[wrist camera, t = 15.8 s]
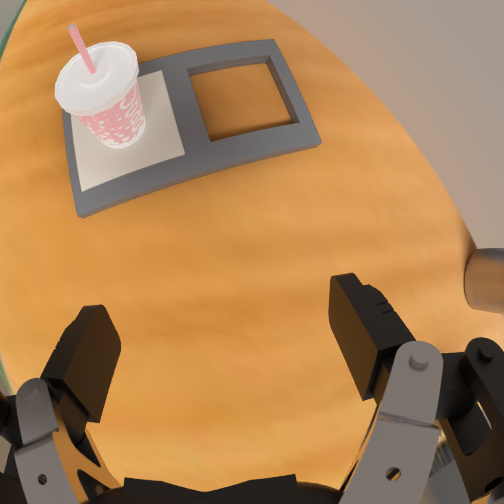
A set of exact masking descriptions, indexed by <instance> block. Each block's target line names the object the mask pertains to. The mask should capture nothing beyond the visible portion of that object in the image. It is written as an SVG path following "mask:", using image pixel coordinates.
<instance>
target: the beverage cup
mask: <svg viewBox="0 0 504 504" xmlns="http://www.w3.org/2000/svg"><path fill="white" fill-rule="evenodd" d="M68 30H69V32H70V35H71V37H72V39H73V41H74V43H75V45H76V47H77V49H78V51H79V53H78V54H77V55H75V56H74V57H73V58H71V59H70V61H69V62H68V63H67V64H66V65H65V67H64V68H63V69H62V70H61V72H60V74H59V76H58V79H57V81H56V83H55V98H56V99H57V101H58V103H59V104H60V106H61V107H62V108H63V109H64V110H65V111H66V112H68V113H70V114H73V115H75V116H76V117H77V118H78V119H79V120H80V121H81V122H82V123H83V124H84V125H85V126H86V127H87V128H88V129H89V130H90V131H91V132H92V133H93V134H95V135H96V136H97V137H98V138H99V139H100V140H101V141H102V142H103V143H104V144H105V145H107V146H109V147H111V148H124V147H127V146H130V145H131V144H133V143H134V142H135V141H136V140H138V139H139V137H140V136H141V134H142V133H143V131H144V128H145V123H146V122H145V117H144V112H143V108H142V103H141V98H140V93H139V87H138V82H137V76H138V73H139V68H138V62H137V56H136V52H135V51H134V50H133V49H132V48H131V47H130V46H128V45H127V44H124V43H120V42H116V41H112V42H102V43H98V44H96V45H93V46H90V47H88V48H86V47H85V44H84V42H83V40H82V38H81V36H80V33H79V31H78V29H77V27H76V24H71V25H70V26H69V27H68Z"/></svg>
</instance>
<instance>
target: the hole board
mask: <svg viewBox="0 0 504 504" xmlns="http://www.w3.org/2000/svg"><path fill="white" fill-rule="evenodd" d="M259 63H267V65H268V68H269V70H270V72H271V74H272V76H273V78H274V81H275V83H276V85H277V87H278V89H279V92H280V94H281V96H282V99H283V101H284V103H285V106H286V108H287V110H288V113H289V115H290V117H291V120H292V122H293V124H289V125H283V126H278V127H273V128H268V129H263V130H258V131H254V132H249V133H245V134H241V135H236V136H232V137H228V138H224V139H220V140H216V141H213V142H210V139H209V136H208V133H207V129H206V126H205V123H204V120H203V117H202V114H201V111H200V108H199V105H198V102H197V99H196V95H195V92H194V89H193V86H192V83H191V80H190V77H189V76H191V75H196V74H200V73H205V72H210V71H215V70H220V69H225V68H231V67H237V66H244V65H251V64H259ZM138 68H139V73H138V76H137V82H138V87H139V93H140V98H141V103H142V108H143V112H144V117H145V122H146V123H145V128H144V131H143V133H142V134H141V136H140V137H139V139H138V140H136V141H135V142H134V143H133V144H131V145H130V146H127V147H124V148H111V147H109V146H107V145H105V144H104V143H103V142H102V141H101V140H100V139H99V138H98V137H97V136H96V135H95V134H93V133H92V132H91V131H90V130H89V129H88V128H87V127H86V126H85V125H84V124H83V123H82V122H81V121H80V120H79V119H78V118H77V117H76V116H75V115H73V114H70V113H68V112H66V111H65V110H64V109H63V108H62V110H63V124H64V135H65V144H66V153H67V160H68V167H69V174H70V180H71V185H72V191H73V196H74V201H75V206H76V211H77V215H78V216H79V217H81V218H85V217H88V216H90V215H93V214H95V213H98V212H100V211H103V210H105V209H108V208H110V207H113V206H116V205H118V204H121V203H124V202H126V201H129V200H132V199H134V198H137V197H140V196H143V195H146V194H148V193H151V192H154V191H157V190H160V189H163V188H166V187H169V186H172V185H175V184H178V183H181V182H185V181H188V180H191V179H194V178H197V177H201V176H204V175H207V174H211V173H214V172H218V171H221V170H225V169H228V168H232V167H236V166H239V165H243V164H247V163H251V162H255V161H259V160H263V159H267V158H271V157H275V156H279V155H283V154H288V153H292V152H297V151H301V150H306V149H311V148H315V147H317V146H318V145H319V144H321V143H322V141H321V139H320V136H319V134H318V132H317V129H316V127H315V124H314V122H313V120H312V117H311V115H310V113H309V110H308V108H307V106H306V103H305V101H304V99H303V97H302V95H301V92H300V90H299V88H298V86H297V84H296V82H295V80H294V78H293V75H292V73H291V71H290V69H289V67H288V65H287V63H286V61H285V59H284V57H283V55H282V53H281V52H280V50H279V48H278V46H277V44H276V42H275V40H274V39H269V40H257V41H247V42H239V43H231V44H224V45H218V46H212V47H206V48H201V49H196V50H191V51H186V52H182V53H178V54H174V55H169V56H166V57H162V58H158V59H154V60H151V61H147V62H144V63H141V64H138Z"/></svg>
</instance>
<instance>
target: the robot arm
mask: <svg viewBox="0 0 504 504" xmlns="http://www.w3.org/2000/svg"><path fill="white" fill-rule="evenodd" d="M465 294H466V299H467V302H468V304H469V305H470V307H471V308H473V309H475V310H481V311H487V312H493V313H499V314H504V248H487V249H477V250H476V251H474V253H473V254H472V255H471V257H470V259H469V262H468V264H467V268H466V273H465ZM328 314H329V322H330V326H331V329H332V331H333V334H334V336H335V338H336V340H337V343H338V345H339V347H340V349H341V352H342V354H343V356H344V358H345V361H346V363H347V365H348V368H349V370H350V372H351V375H352V377H353V379H354V382H355V384H356V386H357V389H358V391H359V394H360V396H361V398H362V401H364V400H368V399H371V398H374V400H375V402H376V404H377V406H376V408H375V411H374V414H373V416H372V419H371V421H370V424H369V427H368V429H367V432H366V434H365V436H364V439H363V441H362V443H361V446H360V448H359V450H358V453H357V455H356V457H355V459H354V461H353V463H352V465H351V467H350V469H349V471H348V473H347V475H346V477H345V478H344V480H343V482H342V484H341V486H340V488H339V490H337V489H335V488H332V487H329V486H326V485H321V484H317V483H309V482H297V481H296V476H295V474H292V475H286V476H279V477H272V478H264V479H255V480H249V481H246V482H242V483H239V484H236V485H232V486H229V487H225V488H221V489H217V490H213V491H209V492H201V491H196V490H192V489H188V488H184V487H180V486H177V485H173V484H170V483H166V482H163V481H153V480H143V479H134V478H126V477H125V479H124V486H121V485H120V483H119V482H118V481H117V480H116V479H115V478H114V477H113V476H112V475H111V473H110V472H109V470H108V469H107V467H106V465H105V463H104V461H103V459H102V457H101V456H100V454H99V452H98V449H97V447H96V445H95V443H94V441H93V439H92V437H91V435H90V433H89V431H88V430H87V428H86V424H87V422H94V423H100V419H101V415H102V412H103V408H104V404H105V401H106V397H107V394H108V390H109V387H110V384H111V380H112V377H113V374H114V371H115V367H116V364H117V361H118V358H119V355H120V352H121V342H120V338H119V335H118V333H117V331H116V329H115V327H114V325H113V323H112V321H111V319H110V316H109V314H108V312H107V310H106V308H105V307H104V306H103V305H91V306H84V307H82V309H81V310H80V312H79V314H78V316H77V317H76V319H75V320H74V321H73V322H72V323H71V324H70V325H69V326H68V327H67V328H66V329H65V330H64V332H63V334H62V336H61V338H60V341H58V343H57V345H56V347H55V348H56V349H54V351H53V353H52V354H51V356H50V358H49V360H48V362H47V364H46V366H45V368H44V370H43V372H42V374H41V377H40V378H33V379H30V380H28V381H26V382H25V383H24V384H23V385H22V386H21V387H20V388H19V390H18V392H17V394H16V395H12V396H6V397H5V396H4V395H3V394H2V392H1V391H0V435H1V436H2V437H3V438H5V439H6V440H7V441H8V442H9V443H10V444H11V448H10V451H9V455H8V459H7V463H6V467H5V471H4V474H3V473H1V472H0V504H419V503H420V501H421V498H422V495H423V492H424V489H425V486H426V483H427V480H428V477H429V473H430V470H431V467H432V463H433V459H434V455H435V451H436V447H437V443H438V438H439V427H438V426H435V424H434V423H435V420H438V421H439V423H440V425H441V427H442V430H443V432H444V434H445V437H446V439H447V441H448V444H449V446H450V449H451V451H452V453H453V456H454V458H455V461H456V463H457V466H458V469H459V471H460V474H461V477H462V480H463V482H464V485H465V488H466V491H467V494H468V497H469V500H470V503H471V504H504V352H503V350H502V349H501V348H500V346H499V345H498V344H497V343H495V342H494V341H492V340H490V339H488V338H482V337H480V338H475V339H473V340H471V341H470V342H469V343H468V345H467V347H466V349H465V351H464V352H457V353H440V352H439V350H438V349H437V348H435V347H434V346H433V345H431V344H429V343H427V342H423V341H416V339H415V338H414V337H413V335H412V334H411V332H410V331H409V329H408V328H407V327H406V325H405V324H404V322H403V321H402V320H401V318H400V317H399V316H398V314H397V313H396V311H395V312H394V309H393V307H392V306H391V305H390V303H389V304H388V301H387V299H386V298H385V297H384V295H383V294H382V293H381V292H380V291H379V290H377V289H376V288H374V287H372V286H371V285H369V284H368V285H362V283H361V282H360V281H359V279H358V278H357V277H356V275H355V274H354V273H347V274H341V275H335V276H332V277H331V279H330V294H329V312H328ZM478 401H479V403H480V405H481V406H482V408H483V410H484V412H485V414H486V416H487V417H488V420H489V422H490V424H491V428H492V431H491V429H490V427H489V425H488V423H487V421H486V419H485V417H484V415H483V413H482V411H481V409H480V407H479V405H478V404H477V403H478Z"/></svg>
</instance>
